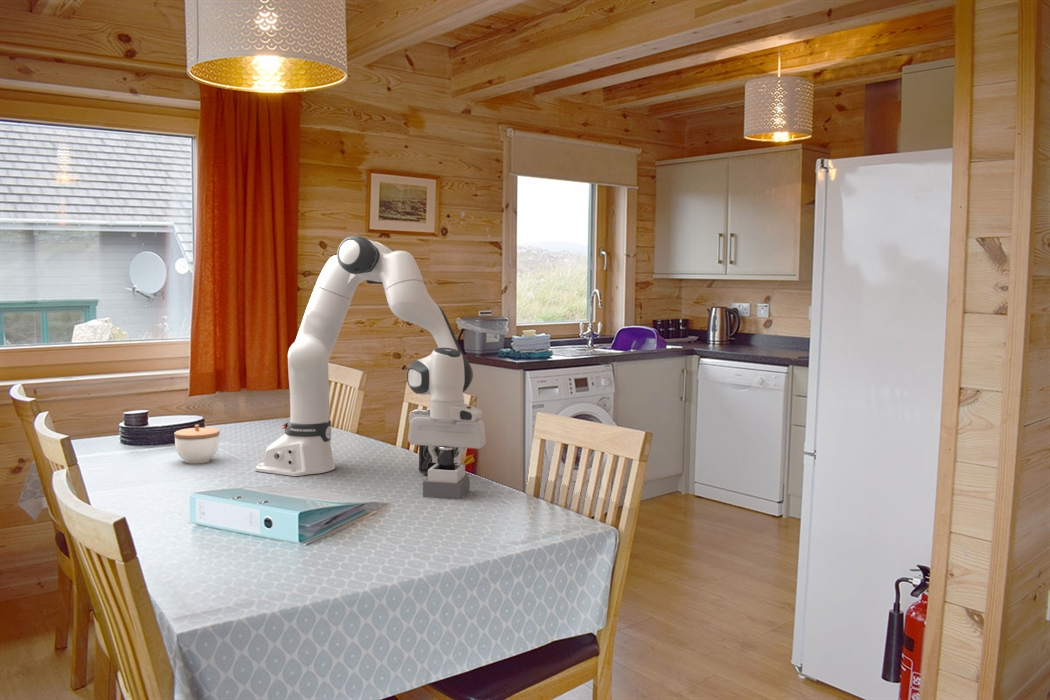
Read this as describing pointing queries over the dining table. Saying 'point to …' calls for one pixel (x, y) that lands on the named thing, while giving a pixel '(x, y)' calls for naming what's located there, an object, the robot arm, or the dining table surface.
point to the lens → (446, 458)
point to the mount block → (446, 483)
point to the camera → (428, 458)
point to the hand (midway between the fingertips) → (446, 463)
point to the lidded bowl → (197, 444)
